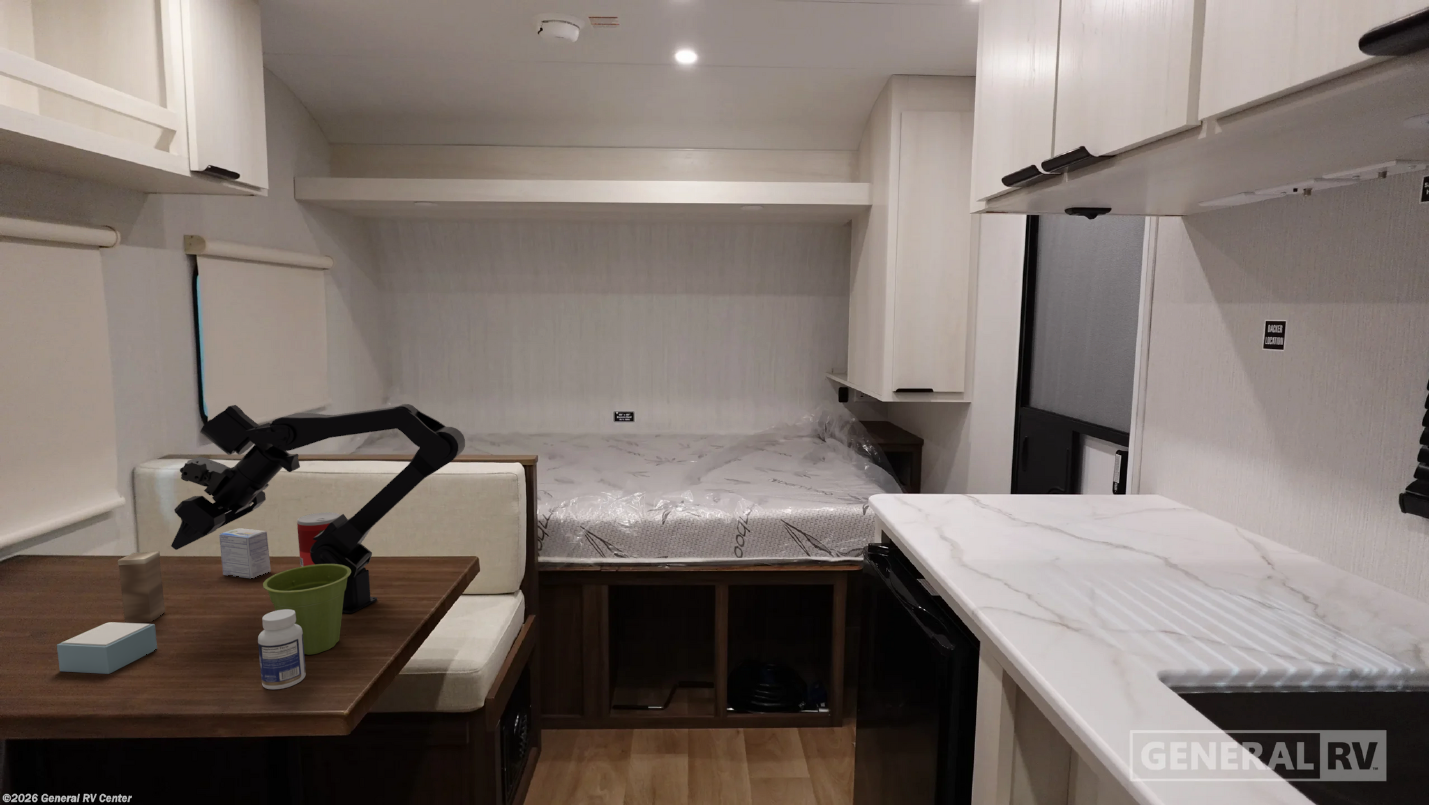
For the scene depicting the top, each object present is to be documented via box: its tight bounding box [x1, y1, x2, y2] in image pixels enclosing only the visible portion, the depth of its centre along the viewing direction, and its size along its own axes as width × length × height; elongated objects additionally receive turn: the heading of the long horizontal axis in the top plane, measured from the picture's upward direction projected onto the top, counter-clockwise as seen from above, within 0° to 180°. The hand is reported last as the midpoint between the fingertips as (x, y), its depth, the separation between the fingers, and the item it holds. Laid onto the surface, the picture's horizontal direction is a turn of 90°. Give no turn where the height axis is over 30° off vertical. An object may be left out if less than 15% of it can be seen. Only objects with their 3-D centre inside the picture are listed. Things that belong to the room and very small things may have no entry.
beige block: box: [117, 551, 166, 624], centre depth 125 cm, size 4×4×11 cm
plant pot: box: [262, 564, 351, 656], centre depth 113 cm, size 12×12×11 cm
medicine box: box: [219, 527, 271, 579], centre depth 147 cm, size 8×4×9 cm, turn 71°
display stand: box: [56, 621, 158, 675], centre depth 110 cm, size 8×8×4 cm
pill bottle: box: [257, 609, 307, 690], centre depth 103 cm, size 5×5×10 cm
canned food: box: [296, 512, 341, 567], centre depth 149 cm, size 8×8×11 cm
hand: (189, 539), depth 125 cm, fingers open, 9 cm apart
